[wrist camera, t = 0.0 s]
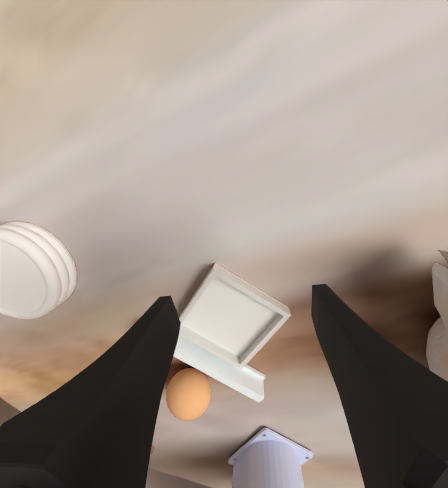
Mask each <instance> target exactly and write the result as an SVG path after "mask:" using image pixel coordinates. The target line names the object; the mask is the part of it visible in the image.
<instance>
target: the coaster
mask: <svg viewBox="0 0 448 488" xmlns="http://www.w3.org/2000/svg"><path fill="white" fill-rule="evenodd" d="M76 282H77V271H76V267H75V264H74V261H73V259H72V257H71V255H70V253H69V251H68V250H67V248H66V247H65V246H64V245H63V244H62V243H61V242H60V241H59V240H58V239H57V238H56V237H55V236H54V235H53V234H51V233H50V232H48V231H47V230H45V229H43V228H41V227H39V226H37V225H34V224H31V223H26V222H9V223H5V224H2V225H0V313H1V314H3V315H6V316H9V317H12V318H17V319H35V318H39V317H41V316H44V315H46V314H48V313H49V312H50V311H52V310H53V309H54V308H55V307H57V306H58V305H60V304H61V303H62V302H63V301H65V300H66V299H67V298H68V297H69V296H70V295H71V294H72V292H73V291H74V289H75V286H76Z"/></svg>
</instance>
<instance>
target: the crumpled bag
mask: <svg viewBox="0 0 448 488" xmlns="http://www.w3.org/2000/svg"><path fill="white" fill-rule="evenodd" d="M438 251H439V252H440V253H441V255H442V256H443V257H444V258H445V260H446V261H447V262H448V252H446V251H441V250H438ZM432 279H433V293H434V305H435V307H436V309H437V310H438V312H439V314H440V316H441V317H440V318H439V319H438V320H437V321H436V322H435V323H434V325H433V326H432V328H431V329H430V330H429V334H428V339H427V348H426V357H427V361H428V365H429V369H430V371H432V372H433V373H435V374H437V375H438V376H440V377H441V378H443V379H445V380H446V381H448V268H446V267H444V266H442V265H440V264H438V263H435V262H434V264H433V268H432Z"/></svg>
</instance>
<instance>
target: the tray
mask: <svg viewBox="0 0 448 488" xmlns="http://www.w3.org/2000/svg"><path fill="white" fill-rule="evenodd" d="M290 316H291V313H290V310H289V307H287V306H286V305H284V304H282V303H281V302H279V301H277V300H276V299H274V298H272V297H271V296H269V295H267V294H266V293H264V292H262V291H261V290H259V289H257V288H256V287H254V286H252V285H251V284H249V283H247V282H246V281H244V280H242V279H241V278H239V277H237V276H236V275H234V274H232V273H231V272H229V271H227V270H226V269H224V268H222V267H221V266H219V265H217V264H216V263H215V264H214V265H213V267H212V268H211V270H210V271H209V273H208V274H207V276H206V277H205V279H204V280H203V282H202V283H201V285H200V286H199V288H198V289H197V291H196V292H195V294H194V295H193V297H192V298H191V300H190V301H189V303H188V304H187V306H186V307H185V309H184V310H183V312H182V313H181V315H180V316H179V320H180V322H181V325H180V331H179V335H180V336H181V337H183V338H185V339H187V340H189V341H190V342H192V343H194V344H196V345H198V346H199V347H201V348H203V349H205V350H207V351H208V352H210V353H212V354H214V355H216V356H217V357H219V358H221V359H223V360H225V361H227V362H228V363H230V364H232V365H234V366H236V367H237V368H239V369H242V368H243V367H244V366H245V365H246V364H247V363H248V362H249V361H250V360H251V359H252V357H253V356H254V355H255V354H256V353H257V352H258V351H259V350H260V349H261V348H262V347H263V345H264V344H265V343H266V342H267V341H268V340H269V339H270V338H271V337H272V336H273V335H274V333H275V332H276V331H277V330H278V329H279V328H280V327H281V326H282V325H283V324H284V323H285V322H286V320H287V319H288V318H289V317H290Z"/></svg>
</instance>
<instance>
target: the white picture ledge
mask: <svg viewBox="0 0 448 488" xmlns="http://www.w3.org/2000/svg"><path fill="white" fill-rule="evenodd" d="M173 356H174V357H176V358H178V359H179V360H181V361H183V362H185V363H187V364H189V365H190V366H192V367H194V368H196V369H198V370H200V371H202V372H203V373H205V374H207V375H209V376H211V377H213V378H214V379H216V380H218V381H220V382H222V383H224V384H226V385H227V386H229V387H231V388H233V389H235V390H237V391H238V392H240V393H242V394H244V395H246V396H248V397H250V398H251V399H253V400H255V401H257V402H260V401H261V400H262V399H263V398H264V386H263V380H264V379H265V378H266V377H265V374H263V373H261V372H259V371H257V370H256V369H254V368H252V367H250V366H248V365H247V364H246V365H245V366H244V367H243V368H242V369H239V368H237V367H236V366H234V365H232V364H230V363H228V362H227V361H225V360H223V359H221V358H219V357H217V356H216V355H214V354H212V353H210V352H208V351H207V350H205V349H203V348H201V347H199V346H198V345H196V344H194V343H192V342H190V341H189V340H187V339H185V338H183V337H181V336H180V335H179V337H178V342H177V345H176V349H175V352H174V355H173Z"/></svg>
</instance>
